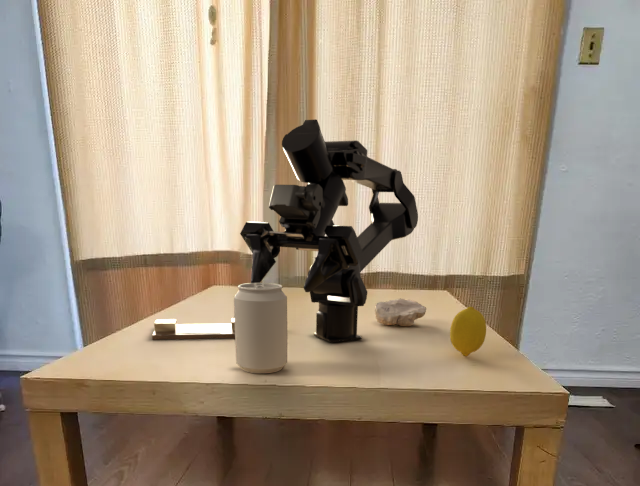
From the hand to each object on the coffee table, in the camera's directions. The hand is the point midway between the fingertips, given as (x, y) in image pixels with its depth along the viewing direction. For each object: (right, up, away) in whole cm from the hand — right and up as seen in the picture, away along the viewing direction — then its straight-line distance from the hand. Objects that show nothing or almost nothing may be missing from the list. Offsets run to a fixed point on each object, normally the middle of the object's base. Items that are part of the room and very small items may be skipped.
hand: (278, 287), depth 84 cm
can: (-2, -12, 0) cm, 12 cm away
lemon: (+29, -9, +9) cm, 32 cm away
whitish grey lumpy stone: (+22, 0, +32) cm, 39 cm away
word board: (-13, -3, +22) cm, 25 cm away
